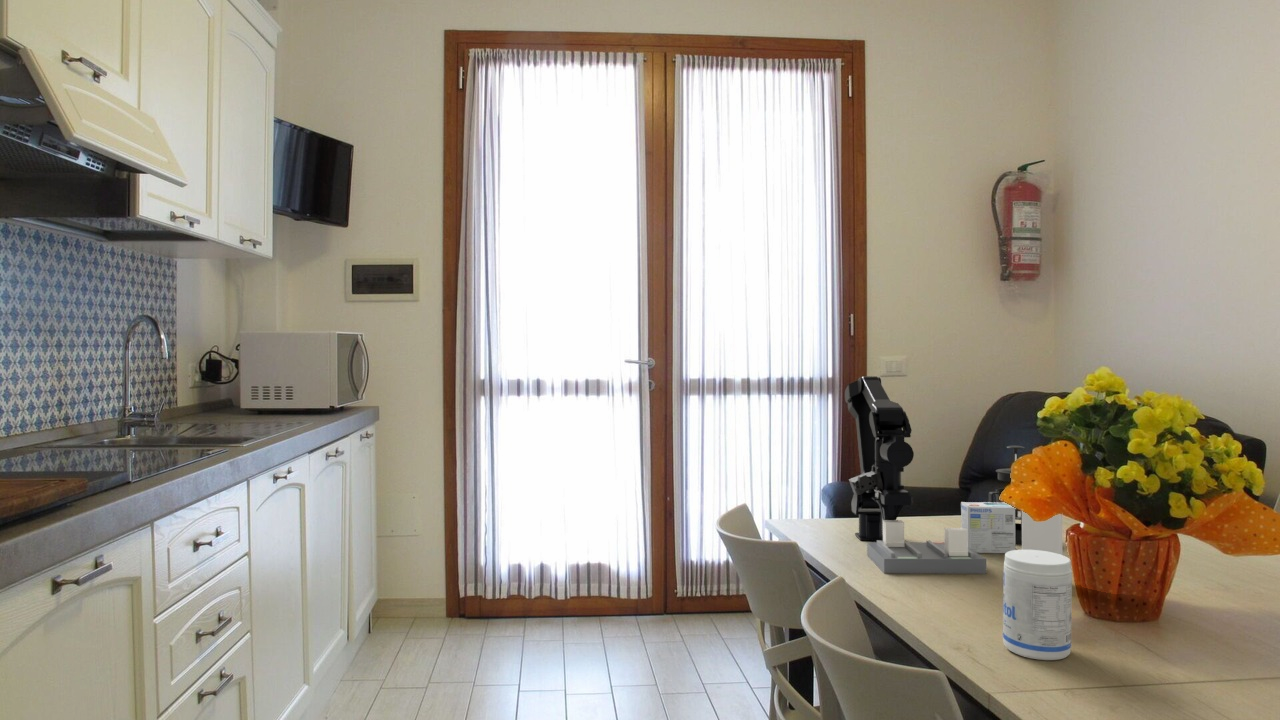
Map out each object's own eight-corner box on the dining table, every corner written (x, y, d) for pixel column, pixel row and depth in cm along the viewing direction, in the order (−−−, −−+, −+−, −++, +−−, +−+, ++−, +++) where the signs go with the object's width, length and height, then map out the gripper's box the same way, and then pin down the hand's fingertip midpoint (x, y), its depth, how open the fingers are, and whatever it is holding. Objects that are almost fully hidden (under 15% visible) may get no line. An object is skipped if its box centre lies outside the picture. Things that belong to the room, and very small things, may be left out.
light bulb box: (1006, 547, 196) (1006, 501, 196) (1016, 554, 189) (1016, 506, 189) (959, 546, 197) (959, 501, 197) (968, 553, 190) (968, 506, 190)
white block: (882, 543, 186) (882, 519, 186) (900, 543, 186) (900, 519, 186) (886, 547, 183) (886, 522, 183) (904, 547, 183) (904, 522, 183)
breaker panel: (867, 555, 188) (867, 538, 188) (961, 555, 188) (961, 538, 188) (884, 573, 173) (884, 555, 173) (986, 573, 173) (986, 555, 173)
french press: (1027, 535, 208) (1027, 443, 207) (1047, 544, 198) (1047, 447, 198) (981, 536, 207) (981, 444, 207) (999, 545, 198) (999, 448, 197)
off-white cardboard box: (1061, 581, 167) (1061, 486, 166) (1062, 590, 160) (1062, 492, 160) (1022, 577, 170) (1021, 484, 169) (1021, 586, 163) (1021, 490, 163)
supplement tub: (992, 640, 133) (992, 548, 133) (1051, 639, 134) (1051, 548, 133) (1021, 663, 124) (1021, 564, 123) (1084, 662, 124) (1084, 563, 124)
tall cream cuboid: (944, 552, 178) (944, 527, 178) (963, 552, 178) (963, 527, 178) (948, 556, 175) (948, 530, 175) (968, 556, 175) (968, 530, 175)
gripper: (843, 456, 199) (843, 521, 199) (861, 467, 180) (861, 539, 180) (890, 456, 198) (891, 521, 198) (913, 467, 180) (914, 539, 180)
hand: (888, 530), depth 189 cm, fingers closed
